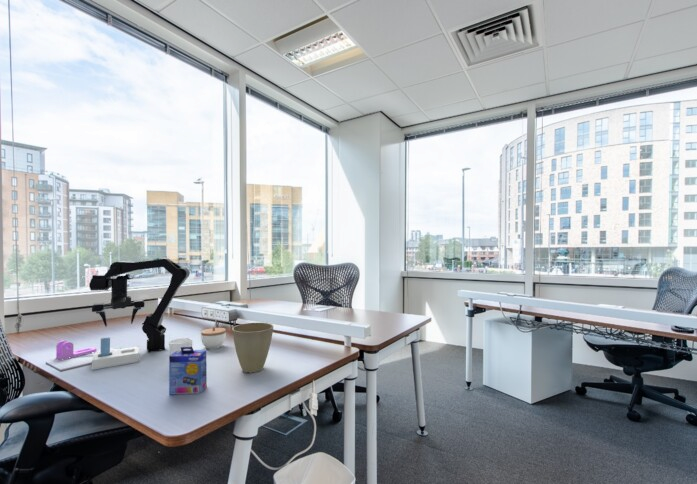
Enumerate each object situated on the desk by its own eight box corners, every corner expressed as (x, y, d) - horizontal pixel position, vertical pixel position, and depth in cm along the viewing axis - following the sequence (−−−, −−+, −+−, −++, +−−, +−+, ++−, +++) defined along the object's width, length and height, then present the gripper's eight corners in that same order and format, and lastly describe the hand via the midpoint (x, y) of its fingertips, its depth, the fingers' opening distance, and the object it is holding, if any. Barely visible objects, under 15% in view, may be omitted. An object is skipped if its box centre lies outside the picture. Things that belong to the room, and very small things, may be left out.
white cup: (196, 364, 126) (196, 339, 126) (180, 371, 119) (180, 344, 119) (181, 362, 129) (181, 337, 129) (164, 369, 121) (164, 342, 121)
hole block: (138, 354, 139) (138, 346, 139) (139, 361, 130) (139, 352, 130) (94, 361, 130) (94, 352, 130) (91, 369, 121) (91, 360, 121)
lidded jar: (227, 343, 155) (227, 323, 155) (224, 350, 144) (224, 329, 145) (203, 344, 153) (204, 325, 153) (198, 351, 142) (198, 330, 142)
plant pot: (235, 380, 111) (235, 333, 111) (229, 366, 124) (229, 325, 124) (278, 372, 117) (278, 328, 118) (268, 360, 131) (268, 320, 131)
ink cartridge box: (167, 395, 99) (168, 348, 100) (175, 388, 105) (176, 343, 105) (200, 394, 100) (201, 347, 101) (207, 386, 106) (207, 342, 106)
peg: (110, 361, 130) (110, 336, 130) (109, 363, 128) (109, 338, 128) (100, 363, 128) (100, 338, 129) (100, 365, 126) (100, 339, 126)
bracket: (62, 360, 132) (62, 343, 132) (56, 358, 135) (56, 341, 135) (98, 351, 144) (99, 336, 144) (92, 349, 146) (92, 334, 147)
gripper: (90, 293, 131) (90, 332, 130) (145, 289, 141) (144, 325, 141) (93, 290, 140) (92, 326, 139) (144, 287, 150) (143, 321, 150)
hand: (119, 325), depth 142 cm, fingers open, 9 cm apart
